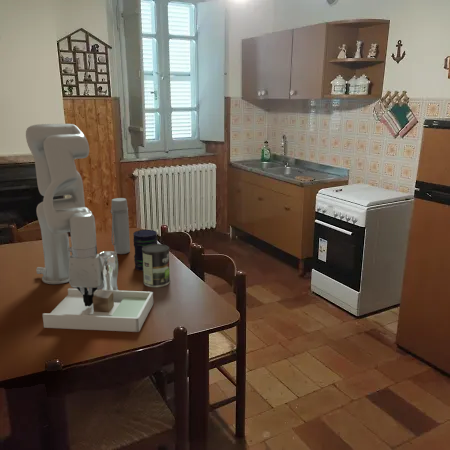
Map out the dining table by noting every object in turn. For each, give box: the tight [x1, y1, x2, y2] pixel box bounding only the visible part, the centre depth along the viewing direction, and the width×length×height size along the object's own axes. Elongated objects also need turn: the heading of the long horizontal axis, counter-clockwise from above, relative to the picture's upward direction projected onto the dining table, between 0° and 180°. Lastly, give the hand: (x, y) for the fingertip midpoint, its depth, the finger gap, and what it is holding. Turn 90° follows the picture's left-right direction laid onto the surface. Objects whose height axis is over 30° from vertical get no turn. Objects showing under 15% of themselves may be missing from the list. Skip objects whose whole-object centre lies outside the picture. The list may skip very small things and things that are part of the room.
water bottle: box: [110, 197, 131, 255], centre depth 202 cm, size 9×8×25 cm
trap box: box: [42, 287, 155, 333], centre depth 146 cm, size 30×20×4 cm, turn 86°
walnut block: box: [93, 291, 114, 313], centre depth 145 cm, size 5×5×5 cm
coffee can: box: [142, 243, 171, 288], centre depth 171 cm, size 10×10×14 cm
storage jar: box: [132, 229, 159, 272], centre depth 187 cm, size 10×10×15 cm
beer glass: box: [98, 250, 119, 290], centre depth 161 cm, size 7×7×15 cm
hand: (89, 304), depth 146 cm, fingers closed
